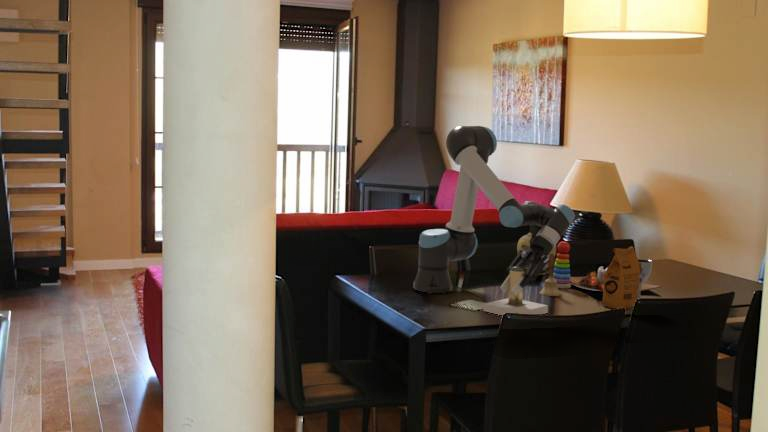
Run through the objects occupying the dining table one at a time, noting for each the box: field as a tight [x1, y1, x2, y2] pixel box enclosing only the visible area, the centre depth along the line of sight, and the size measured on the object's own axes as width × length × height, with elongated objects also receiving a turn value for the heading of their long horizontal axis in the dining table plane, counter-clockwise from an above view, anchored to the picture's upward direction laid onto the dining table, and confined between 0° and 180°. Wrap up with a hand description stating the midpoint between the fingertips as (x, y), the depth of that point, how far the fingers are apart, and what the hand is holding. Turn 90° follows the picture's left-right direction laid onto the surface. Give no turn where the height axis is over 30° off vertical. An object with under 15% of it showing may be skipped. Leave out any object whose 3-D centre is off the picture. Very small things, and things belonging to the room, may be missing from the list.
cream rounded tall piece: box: [516, 225, 557, 276], centre depth 384 cm, size 18×17×30 cm
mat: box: [457, 299, 485, 310], centre depth 315 cm, size 12×12×1 cm
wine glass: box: [638, 258, 653, 298], centre depth 336 cm, size 8×8×15 cm
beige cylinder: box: [507, 266, 526, 306], centre depth 306 cm, size 5×5×13 cm
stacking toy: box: [553, 240, 572, 290], centre depth 354 cm, size 8×8×19 cm
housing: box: [482, 297, 549, 316], centre depth 307 cm, size 16×16×3 cm
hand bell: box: [539, 253, 562, 297], centre depth 340 cm, size 8×8×16 cm
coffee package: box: [601, 245, 640, 310], centre depth 321 cm, size 10×12×22 cm
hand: (508, 291), depth 304 cm, fingers closed on beige cylinder, 5 cm apart
